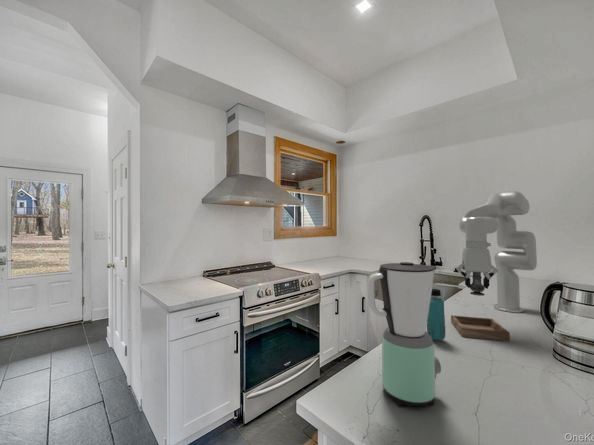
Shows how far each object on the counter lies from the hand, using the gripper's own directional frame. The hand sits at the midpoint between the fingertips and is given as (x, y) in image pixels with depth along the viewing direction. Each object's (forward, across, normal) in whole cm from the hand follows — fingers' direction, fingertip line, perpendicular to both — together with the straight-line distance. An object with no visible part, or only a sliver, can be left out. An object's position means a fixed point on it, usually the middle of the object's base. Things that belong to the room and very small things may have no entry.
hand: (477, 287), depth 113 cm
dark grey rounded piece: (+3, 0, 0) cm, 3 cm away
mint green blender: (+19, +34, +55) cm, 68 cm away
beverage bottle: (+19, +19, +15) cm, 31 cm away
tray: (+19, 0, 0) cm, 19 cm away
